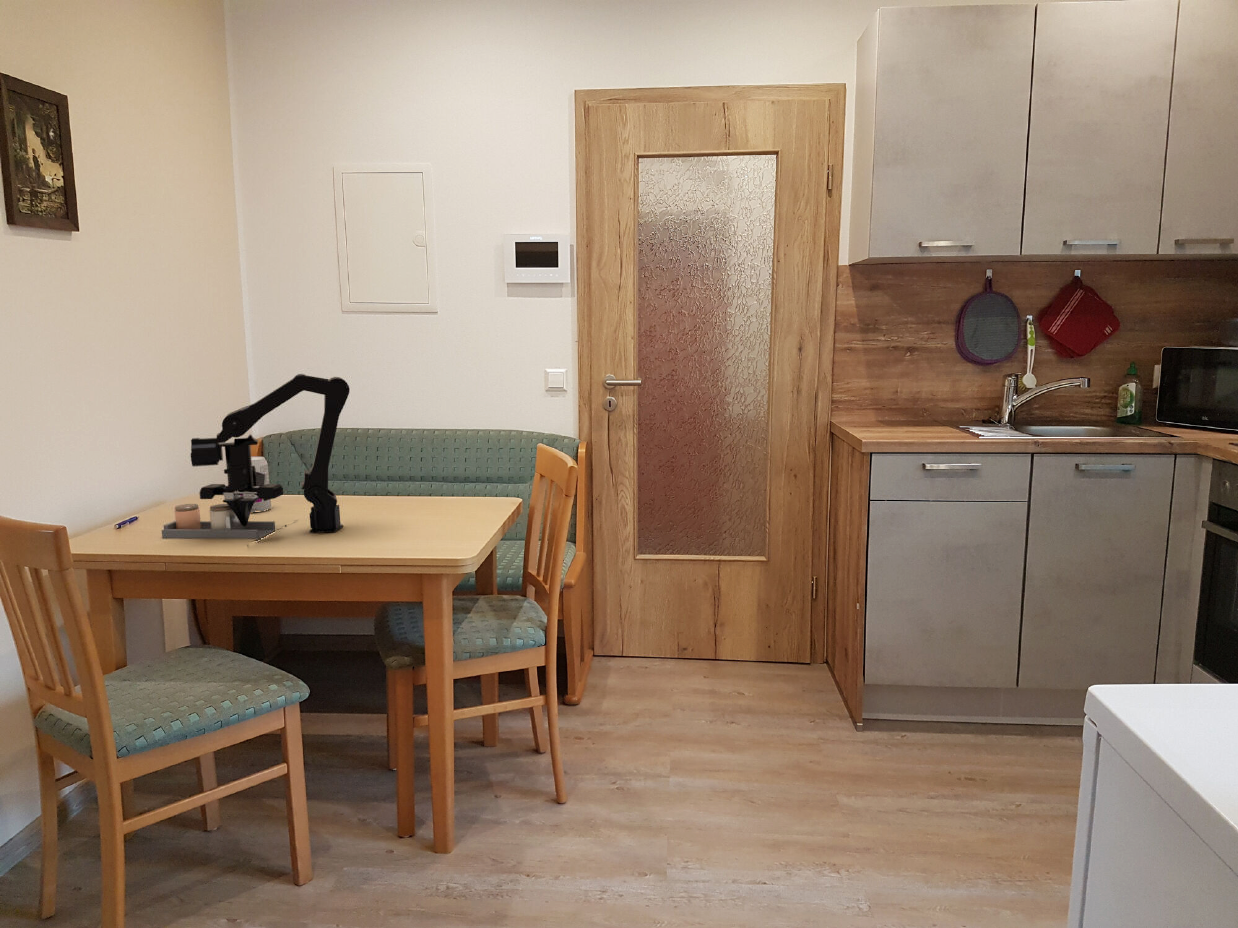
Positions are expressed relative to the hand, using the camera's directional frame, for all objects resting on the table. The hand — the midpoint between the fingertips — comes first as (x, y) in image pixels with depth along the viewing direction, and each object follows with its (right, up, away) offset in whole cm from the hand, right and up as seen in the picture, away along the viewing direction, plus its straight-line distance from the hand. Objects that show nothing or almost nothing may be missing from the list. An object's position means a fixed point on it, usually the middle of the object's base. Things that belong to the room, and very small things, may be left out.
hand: (244, 525), depth 211 cm
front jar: (-14, -2, +1) cm, 15 cm away
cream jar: (-6, -2, +1) cm, 6 cm away
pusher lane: (-7, -3, +1) cm, 7 cm away
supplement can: (-11, +2, +31) cm, 33 cm away
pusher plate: (-2, -2, +1) cm, 3 cm away
